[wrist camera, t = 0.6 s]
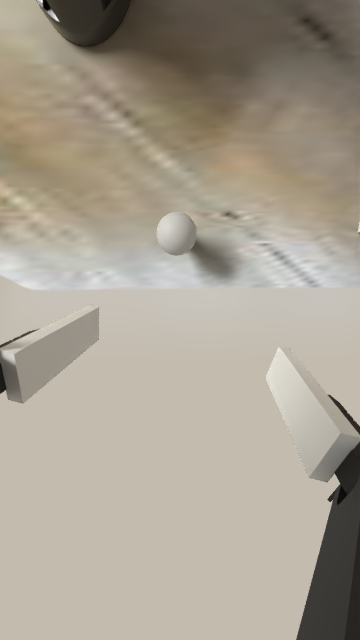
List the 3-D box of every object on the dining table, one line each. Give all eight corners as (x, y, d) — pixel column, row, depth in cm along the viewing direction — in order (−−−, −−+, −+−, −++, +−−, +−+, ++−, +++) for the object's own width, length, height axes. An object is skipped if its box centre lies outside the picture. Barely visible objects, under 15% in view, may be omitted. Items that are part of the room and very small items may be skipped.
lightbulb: (205, 237, 36) (204, 232, 26) (183, 260, 38) (173, 265, 28) (183, 212, 35) (172, 196, 25) (161, 237, 37) (143, 233, 27)
